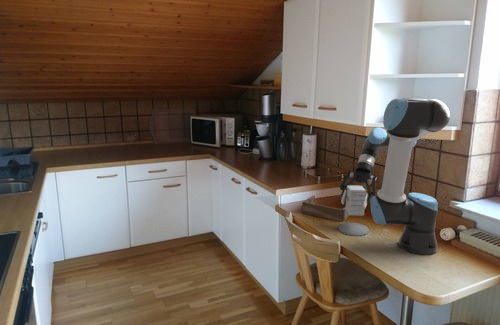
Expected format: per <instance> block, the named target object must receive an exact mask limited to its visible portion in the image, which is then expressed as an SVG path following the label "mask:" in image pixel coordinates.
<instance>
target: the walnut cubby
mask: <svg viewBox="0 0 500 325" xmlns="http://www.w3.org/2000/svg"><path fill="white" fill-rule="evenodd" d="M345 208H346V205H345V206H344V207H343V208H339V207H333V206H327V205H322V204H319V203H316V196H315V195H312V196H310V197H308V198H307V199H306V200H303V201H302V203H301V213H302V214H305V215H310V216H314V217H319V218H323V219H329V220H333V221H339V222H344V223H345V220H346V221H347V219H348V218H349V217H350V216H351V215H348V213H347V211H346V210H345Z"/></svg>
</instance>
